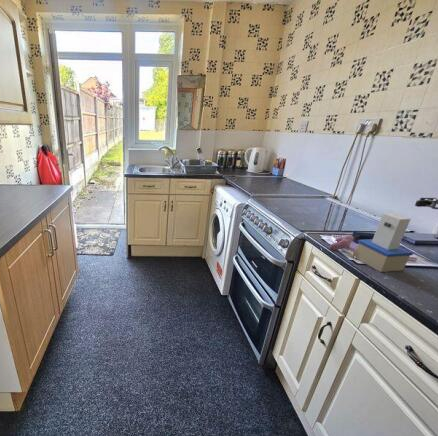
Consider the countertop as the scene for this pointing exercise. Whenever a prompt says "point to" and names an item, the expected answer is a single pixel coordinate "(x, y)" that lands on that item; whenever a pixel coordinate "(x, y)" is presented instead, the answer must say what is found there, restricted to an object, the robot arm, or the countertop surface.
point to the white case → (390, 231)
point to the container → (381, 256)
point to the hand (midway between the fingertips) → (431, 207)
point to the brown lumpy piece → (342, 242)
